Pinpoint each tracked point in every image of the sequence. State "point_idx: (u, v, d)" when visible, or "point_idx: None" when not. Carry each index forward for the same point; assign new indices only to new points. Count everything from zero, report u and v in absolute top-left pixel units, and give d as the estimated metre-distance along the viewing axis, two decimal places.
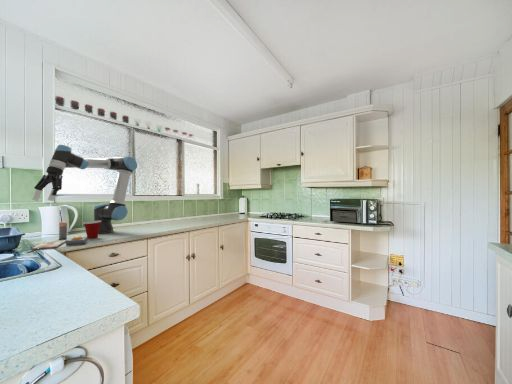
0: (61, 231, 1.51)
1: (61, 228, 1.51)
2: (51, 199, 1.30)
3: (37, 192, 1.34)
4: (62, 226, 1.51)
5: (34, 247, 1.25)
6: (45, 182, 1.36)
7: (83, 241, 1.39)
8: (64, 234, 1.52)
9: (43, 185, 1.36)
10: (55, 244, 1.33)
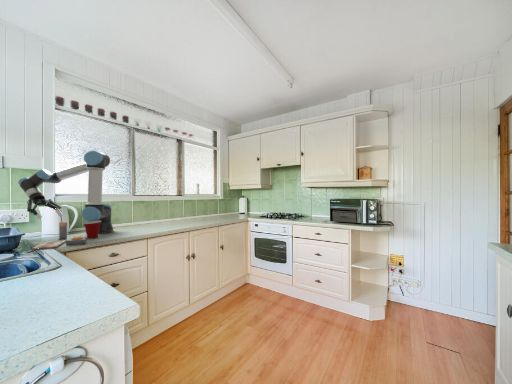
0: (61, 231, 1.51)
1: (61, 228, 1.51)
2: (39, 217, 1.48)
3: (57, 211, 1.62)
4: (62, 226, 1.51)
5: (34, 247, 1.25)
6: (47, 205, 1.60)
7: (83, 241, 1.39)
8: (64, 234, 1.52)
9: (51, 206, 1.62)
10: (55, 244, 1.33)
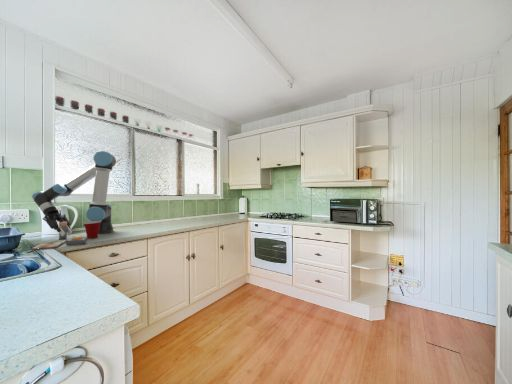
0: None
1: None
2: (62, 234, 1.50)
3: None
4: (62, 226, 1.51)
5: (34, 247, 1.25)
6: (59, 220, 1.56)
7: (83, 241, 1.39)
8: (64, 234, 1.52)
9: None
10: (55, 244, 1.33)
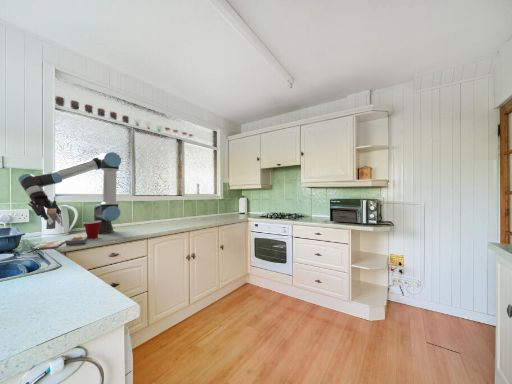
0: None
1: (49, 215, 1.32)
2: (50, 222, 1.30)
3: None
4: (50, 213, 1.32)
5: (34, 247, 1.25)
6: (47, 207, 1.36)
7: (83, 241, 1.39)
8: (52, 223, 1.33)
9: None
10: (55, 244, 1.33)
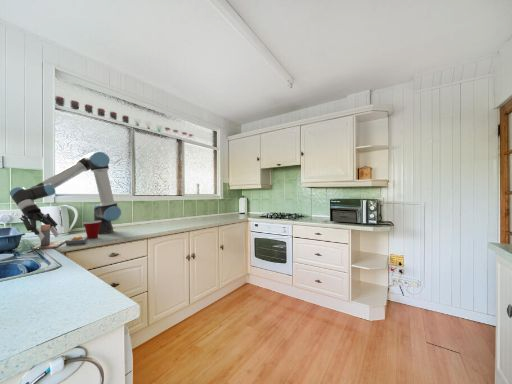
0: None
1: (43, 232, 1.28)
2: (41, 237, 1.25)
3: (51, 230, 1.33)
4: (44, 230, 1.28)
5: (34, 247, 1.25)
6: (42, 221, 1.33)
7: (83, 241, 1.39)
8: (46, 239, 1.29)
9: (46, 223, 1.34)
10: (55, 244, 1.33)
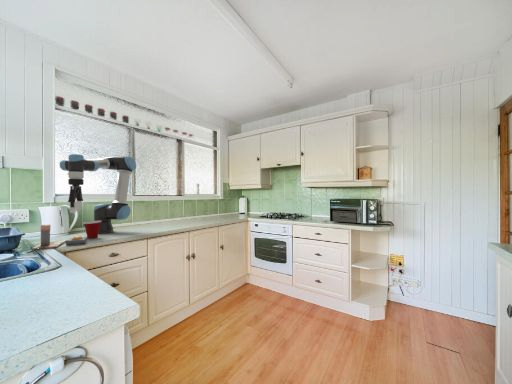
0: (43, 236, 1.28)
1: (43, 232, 1.28)
2: (72, 211, 1.34)
3: (77, 203, 1.46)
4: (44, 230, 1.29)
5: (34, 247, 1.25)
6: (76, 193, 1.43)
7: (83, 241, 1.39)
8: (47, 239, 1.29)
9: (78, 196, 1.45)
10: (55, 244, 1.33)
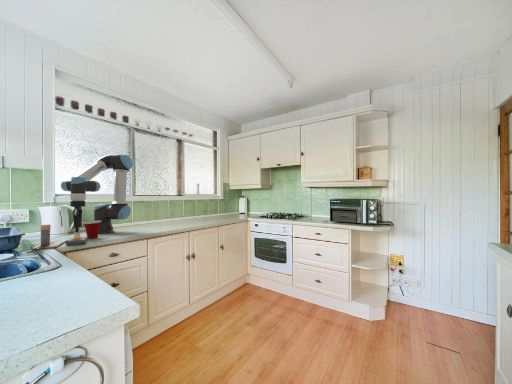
0: (43, 236, 1.28)
1: (44, 232, 1.29)
2: (77, 236, 1.40)
3: None
4: (44, 230, 1.29)
5: (34, 247, 1.25)
6: None
7: (83, 241, 1.39)
8: (47, 239, 1.29)
9: None
10: (55, 244, 1.33)
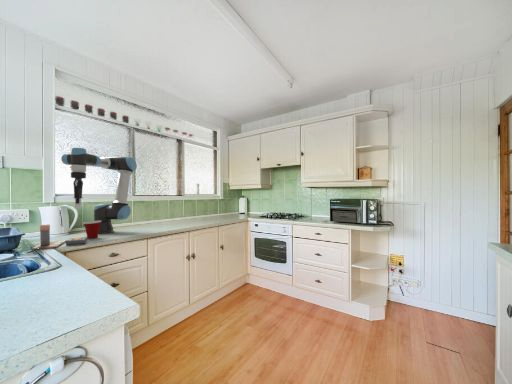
0: (43, 236, 1.28)
1: (43, 232, 1.28)
2: (77, 207, 1.40)
3: None
4: (44, 230, 1.28)
5: (34, 247, 1.25)
6: None
7: (83, 241, 1.39)
8: (47, 239, 1.29)
9: None
10: (55, 244, 1.33)
